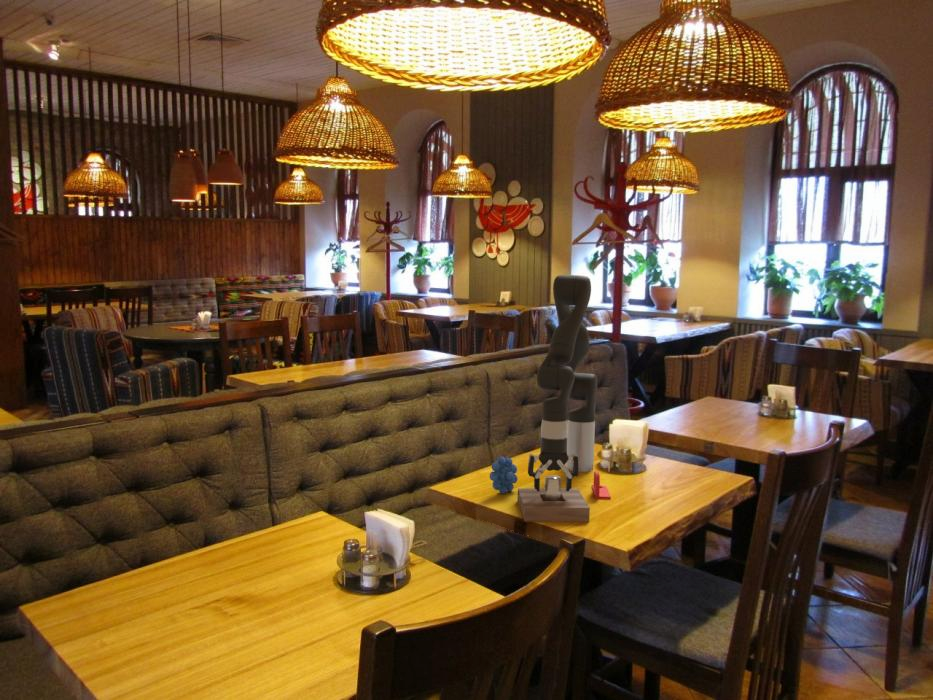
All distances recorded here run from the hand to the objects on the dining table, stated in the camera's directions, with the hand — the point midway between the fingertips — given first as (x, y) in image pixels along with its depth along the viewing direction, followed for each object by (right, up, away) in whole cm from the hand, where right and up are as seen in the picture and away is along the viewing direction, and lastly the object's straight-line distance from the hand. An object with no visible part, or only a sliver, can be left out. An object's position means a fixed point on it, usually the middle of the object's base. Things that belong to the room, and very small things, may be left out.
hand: (552, 490), depth 222 cm
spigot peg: (0, -6, +1) cm, 6 cm away
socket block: (0, -6, +1) cm, 6 cm away
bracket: (+17, -5, +18) cm, 25 cm away
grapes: (-13, -4, +16) cm, 21 cm away
